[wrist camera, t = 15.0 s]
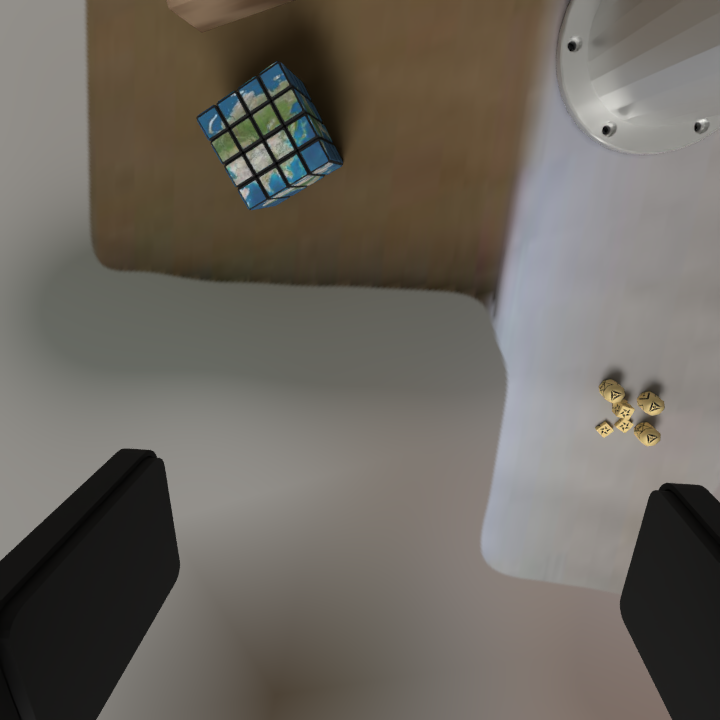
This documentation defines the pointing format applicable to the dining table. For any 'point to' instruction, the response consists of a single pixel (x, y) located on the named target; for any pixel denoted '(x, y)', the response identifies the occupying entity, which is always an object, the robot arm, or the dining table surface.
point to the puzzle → (270, 138)
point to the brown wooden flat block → (219, 10)
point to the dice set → (631, 412)
